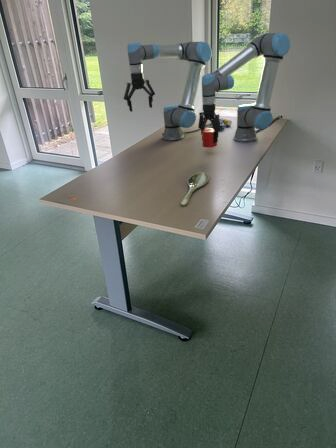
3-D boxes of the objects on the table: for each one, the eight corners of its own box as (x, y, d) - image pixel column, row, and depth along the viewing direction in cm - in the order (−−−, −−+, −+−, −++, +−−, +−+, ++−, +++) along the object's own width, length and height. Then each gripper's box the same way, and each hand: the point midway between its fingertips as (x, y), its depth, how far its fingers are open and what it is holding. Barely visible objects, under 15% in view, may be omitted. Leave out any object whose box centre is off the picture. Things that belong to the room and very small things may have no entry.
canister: (207, 142, 214) (207, 127, 209) (219, 144, 209) (219, 128, 204) (200, 146, 208) (199, 131, 203) (212, 148, 203) (211, 132, 198)
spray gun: (234, 122, 269) (216, 122, 275) (234, 117, 267) (216, 117, 273) (226, 131, 254) (207, 130, 260) (226, 125, 251) (207, 124, 258)
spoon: (193, 209, 156) (193, 205, 155) (172, 207, 159) (171, 203, 158) (212, 175, 182) (212, 172, 181) (193, 174, 186) (193, 170, 184)
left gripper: (119, 75, 190) (124, 114, 201) (158, 70, 200) (161, 106, 211) (114, 74, 196) (120, 111, 207) (152, 69, 205) (156, 104, 216)
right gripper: (191, 103, 200) (192, 139, 212) (219, 106, 186) (219, 146, 198) (199, 100, 205) (200, 136, 216) (227, 103, 191) (227, 142, 202)
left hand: (141, 109), depth 209 cm, fingers open, 13 cm apart
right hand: (209, 141), depth 207 cm, fingers closed on canister, 9 cm apart
